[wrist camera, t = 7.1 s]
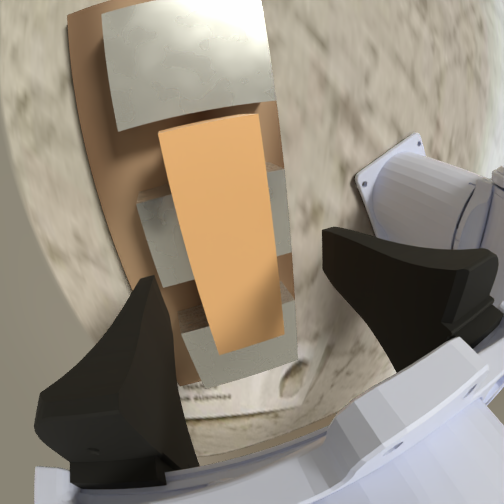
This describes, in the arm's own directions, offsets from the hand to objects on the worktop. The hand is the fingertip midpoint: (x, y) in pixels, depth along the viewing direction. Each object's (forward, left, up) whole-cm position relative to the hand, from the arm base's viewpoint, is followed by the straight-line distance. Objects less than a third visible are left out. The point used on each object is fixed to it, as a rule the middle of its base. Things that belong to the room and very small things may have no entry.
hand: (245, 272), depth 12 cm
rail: (0, 0, -8) cm, 8 cm away
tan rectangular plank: (0, 0, -7) cm, 7 cm away
